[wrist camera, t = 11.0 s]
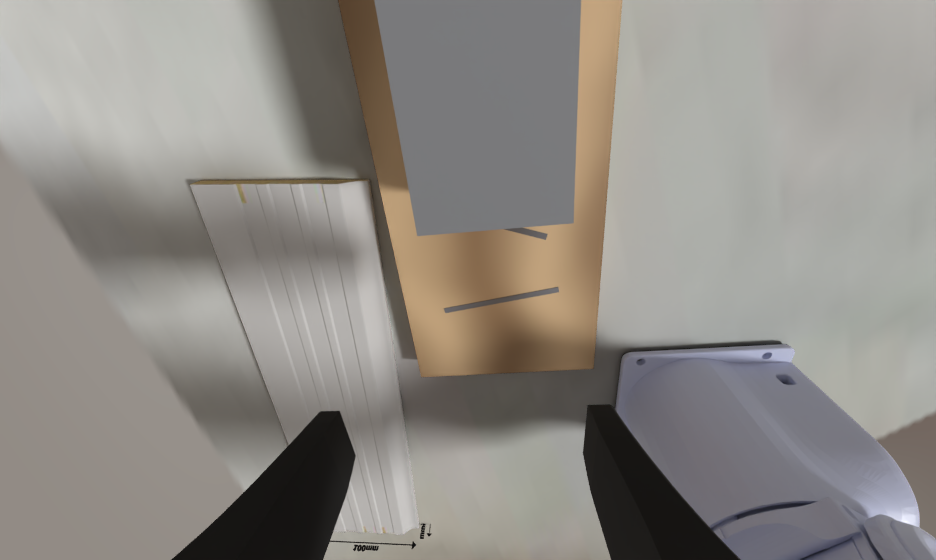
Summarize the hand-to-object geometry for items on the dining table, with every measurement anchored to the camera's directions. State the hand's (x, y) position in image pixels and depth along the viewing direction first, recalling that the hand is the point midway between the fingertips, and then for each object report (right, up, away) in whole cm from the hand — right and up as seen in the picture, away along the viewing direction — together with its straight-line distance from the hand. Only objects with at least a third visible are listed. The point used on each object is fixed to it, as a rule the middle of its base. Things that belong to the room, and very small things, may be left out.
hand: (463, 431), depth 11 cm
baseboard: (-8, -4, +15) cm, 17 cm away
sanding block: (+1, +12, +3) cm, 13 cm away
